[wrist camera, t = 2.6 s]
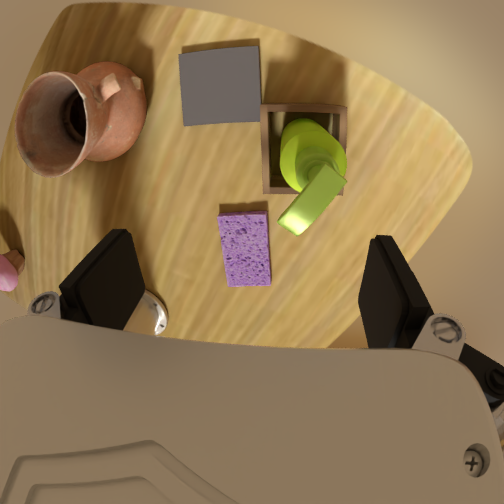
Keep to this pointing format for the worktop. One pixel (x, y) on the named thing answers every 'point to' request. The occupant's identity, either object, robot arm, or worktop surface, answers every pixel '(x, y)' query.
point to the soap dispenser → (310, 172)
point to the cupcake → (10, 269)
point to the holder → (270, 182)
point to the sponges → (245, 248)
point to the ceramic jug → (79, 117)
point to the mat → (220, 86)
